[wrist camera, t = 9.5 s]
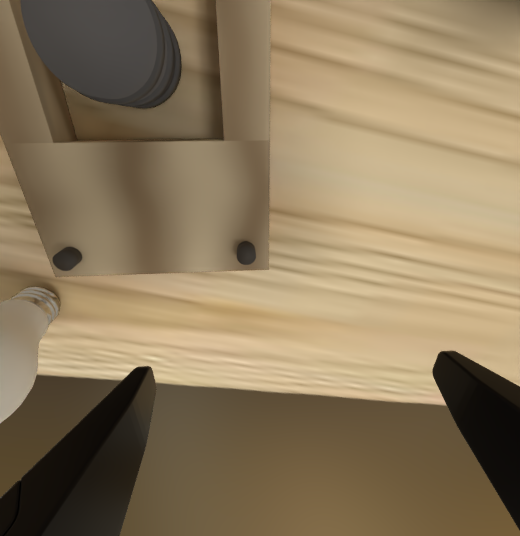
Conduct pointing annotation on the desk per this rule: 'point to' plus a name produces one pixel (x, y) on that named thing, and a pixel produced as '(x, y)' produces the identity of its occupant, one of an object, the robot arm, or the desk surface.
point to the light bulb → (22, 343)
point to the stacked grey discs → (106, 48)
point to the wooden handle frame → (145, 165)
